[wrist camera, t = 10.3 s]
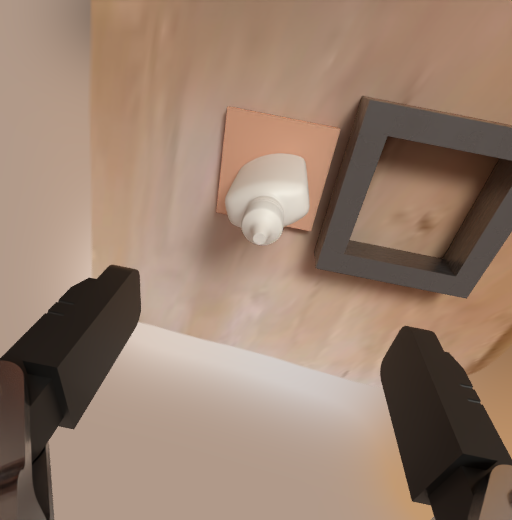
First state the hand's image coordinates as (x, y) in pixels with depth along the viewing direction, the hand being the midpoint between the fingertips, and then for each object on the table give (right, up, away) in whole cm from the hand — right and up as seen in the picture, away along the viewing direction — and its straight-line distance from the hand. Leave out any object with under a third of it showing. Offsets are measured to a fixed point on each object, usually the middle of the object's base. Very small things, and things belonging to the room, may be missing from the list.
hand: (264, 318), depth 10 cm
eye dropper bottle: (+1, +9, +18) cm, 20 cm away
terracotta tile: (+1, +9, +18) cm, 21 cm away
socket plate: (+13, +7, +18) cm, 24 cm away
